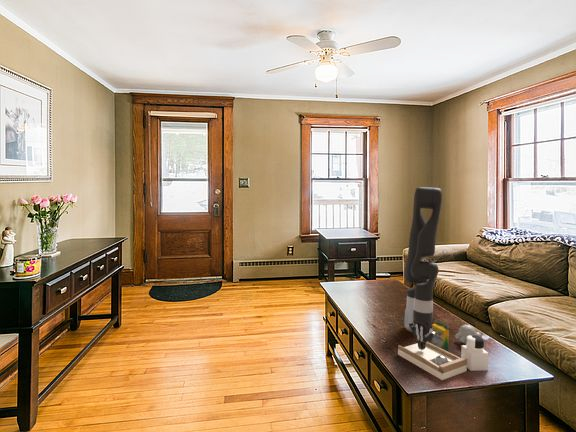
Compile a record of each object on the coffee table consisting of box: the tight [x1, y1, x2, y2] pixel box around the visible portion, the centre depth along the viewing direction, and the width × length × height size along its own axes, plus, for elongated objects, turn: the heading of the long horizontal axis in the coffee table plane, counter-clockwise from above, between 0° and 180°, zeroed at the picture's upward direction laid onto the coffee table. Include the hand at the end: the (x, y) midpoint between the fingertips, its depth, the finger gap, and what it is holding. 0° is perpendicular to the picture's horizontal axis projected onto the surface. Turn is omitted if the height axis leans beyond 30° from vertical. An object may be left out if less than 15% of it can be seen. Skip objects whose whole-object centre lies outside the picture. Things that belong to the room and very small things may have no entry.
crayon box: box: [430, 319, 450, 352], centre depth 151 cm, size 7×3×12 cm, turn 21°
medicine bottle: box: [460, 335, 489, 372], centre depth 136 cm, size 7×7×12 cm
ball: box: [435, 355, 448, 365], centre depth 135 cm, size 5×5×5 cm
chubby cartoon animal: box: [454, 324, 485, 345], centre depth 156 cm, size 7×12×8 cm, turn 88°
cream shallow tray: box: [397, 341, 468, 381], centre depth 139 cm, size 22×14×5 cm, turn 27°
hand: (421, 349), depth 143 cm, fingers closed
